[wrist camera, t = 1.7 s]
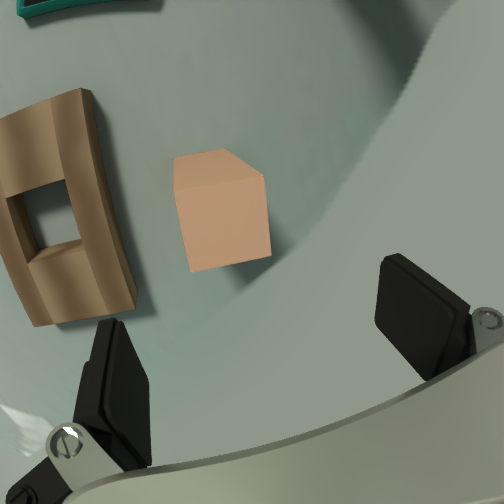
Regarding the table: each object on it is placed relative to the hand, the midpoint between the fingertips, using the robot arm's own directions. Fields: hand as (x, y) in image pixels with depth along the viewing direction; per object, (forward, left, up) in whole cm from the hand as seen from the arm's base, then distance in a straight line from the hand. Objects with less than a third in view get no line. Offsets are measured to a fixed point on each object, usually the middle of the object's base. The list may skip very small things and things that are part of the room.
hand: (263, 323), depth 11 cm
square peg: (0, 0, -23) cm, 23 cm away
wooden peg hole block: (+16, 0, -23) cm, 28 cm away
